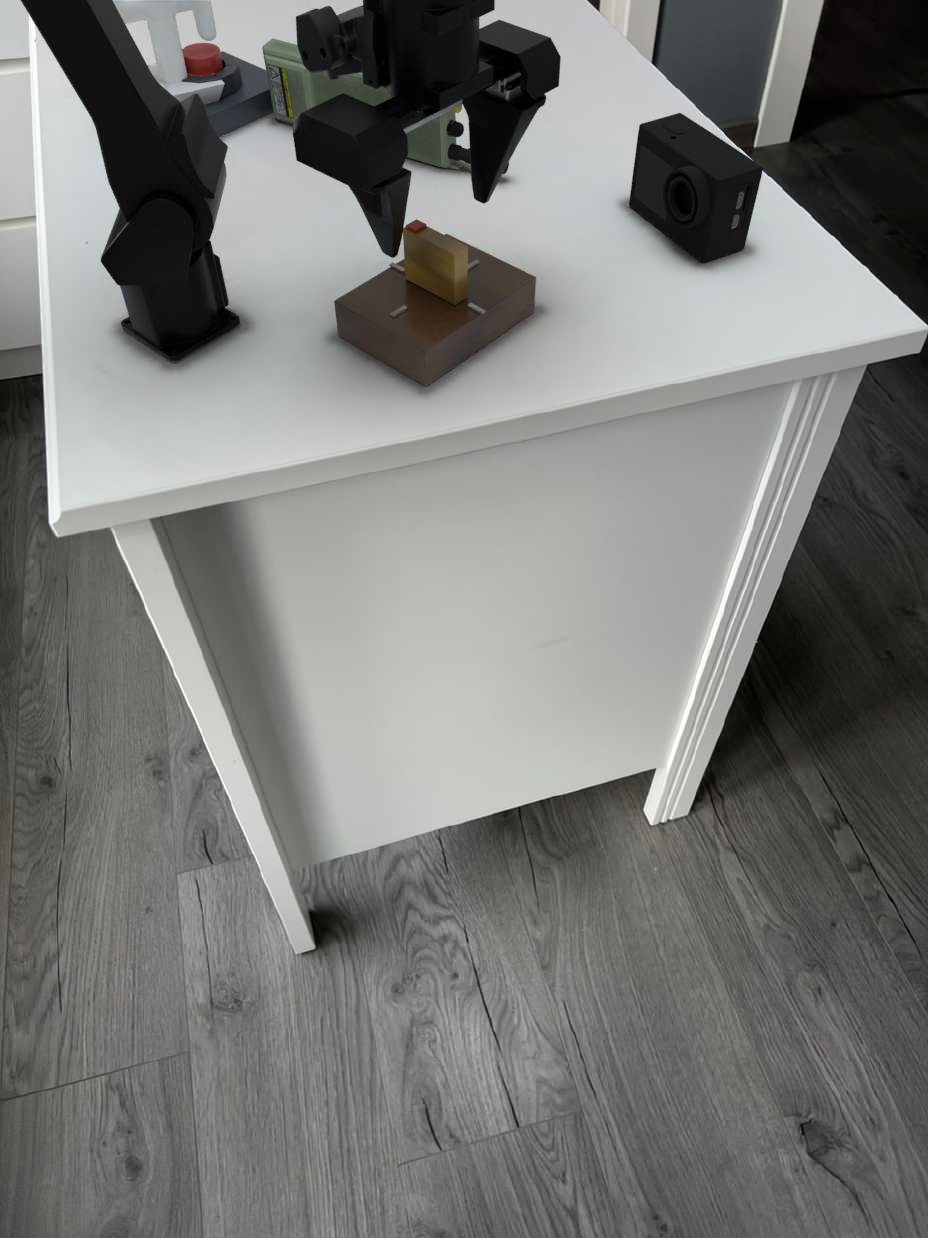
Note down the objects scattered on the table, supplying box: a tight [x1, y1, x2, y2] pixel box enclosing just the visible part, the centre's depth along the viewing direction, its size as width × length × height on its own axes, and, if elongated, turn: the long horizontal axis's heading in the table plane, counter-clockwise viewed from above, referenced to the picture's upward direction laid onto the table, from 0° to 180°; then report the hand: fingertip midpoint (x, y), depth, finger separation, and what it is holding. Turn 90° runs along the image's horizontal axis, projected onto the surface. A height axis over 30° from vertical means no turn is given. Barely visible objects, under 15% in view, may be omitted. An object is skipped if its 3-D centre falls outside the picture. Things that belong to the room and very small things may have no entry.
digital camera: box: [628, 112, 764, 264], centre depth 80 cm, size 10×5×7 cm, turn 29°
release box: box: [181, 50, 274, 138], centre depth 95 cm, size 12×10×4 cm
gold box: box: [402, 218, 468, 305], centre depth 71 cm, size 5×1×4 cm, turn 47°
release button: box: [182, 42, 223, 76], centre depth 93 cm, size 4×4×2 cm
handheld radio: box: [261, 37, 510, 175], centre depth 89 cm, size 7×3×25 cm
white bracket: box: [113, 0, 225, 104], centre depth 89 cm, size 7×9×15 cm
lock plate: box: [333, 233, 537, 387], centre depth 74 cm, size 12×9×3 cm
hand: (436, 226), depth 69 cm, fingers open, 9 cm apart
